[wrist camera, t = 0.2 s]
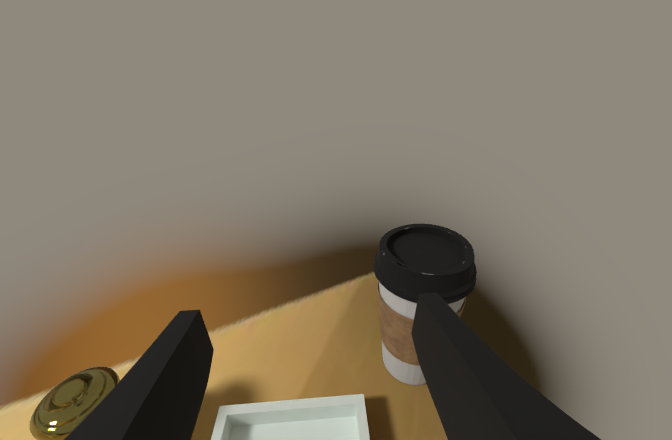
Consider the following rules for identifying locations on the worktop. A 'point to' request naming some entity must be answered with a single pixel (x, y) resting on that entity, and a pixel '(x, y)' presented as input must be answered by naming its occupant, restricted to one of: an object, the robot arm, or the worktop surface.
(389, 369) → the coffee cup
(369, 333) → the worktop surface
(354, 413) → the tray
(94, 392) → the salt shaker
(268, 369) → the worktop surface
